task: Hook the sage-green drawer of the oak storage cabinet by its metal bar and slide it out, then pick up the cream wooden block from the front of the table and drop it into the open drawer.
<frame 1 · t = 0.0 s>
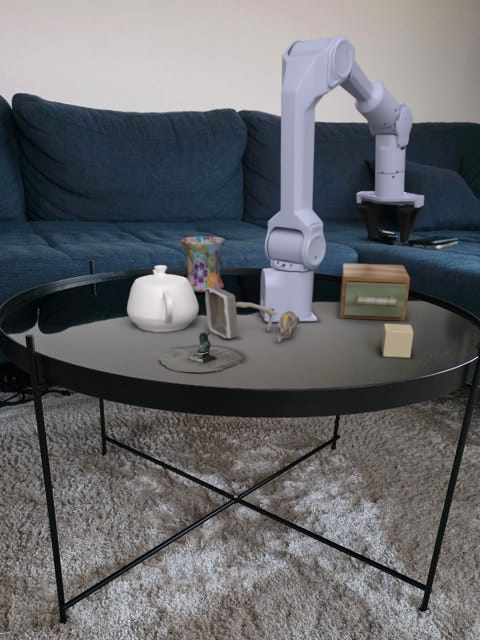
hand: (388, 239, 125), 11 cm above the table, tool pointing down, fingers open, 7 cm apart
cabinet: (370, 310, 114), on the table
drawer: (373, 295, 108), point 4 cm above the table, slide at 0.0 cm
decorative sculpture: (256, 336, 99), on the table
block: (395, 353, 91), on the table
sculpture: (200, 360, 88), on the table
supplement bottle: (283, 292, 128), on the table
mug: (203, 289, 129), on the table
teapot: (163, 324, 105), on the table
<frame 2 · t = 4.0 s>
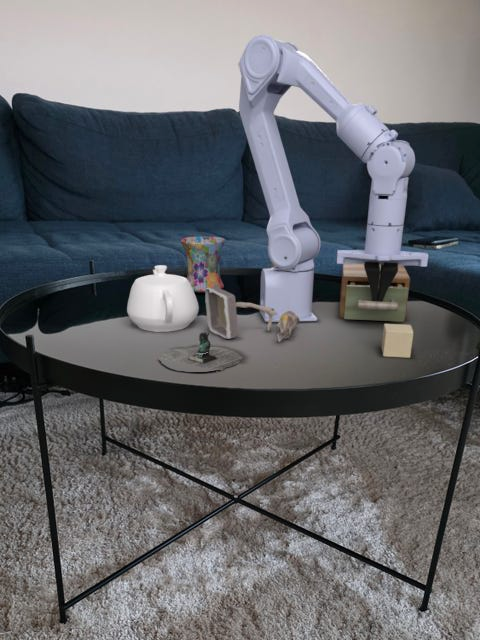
hand: (376, 307, 101), 4 cm above the table, tool pointing down, fingers closed, pressing on drawer
drawer: (374, 299, 106), point 4 cm above the table, slide at 2.8 cm, touching gripper
everything else where it was.
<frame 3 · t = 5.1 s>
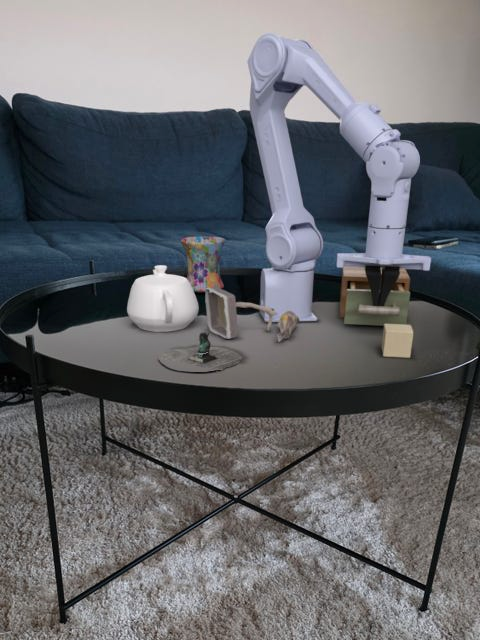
hand: (377, 312, 98), 4 cm above the table, tool pointing down, fingers closed, pressing on drawer
drawer: (375, 303, 103), point 4 cm above the table, slide at 6.0 cm, touching gripper
everything else where it was.
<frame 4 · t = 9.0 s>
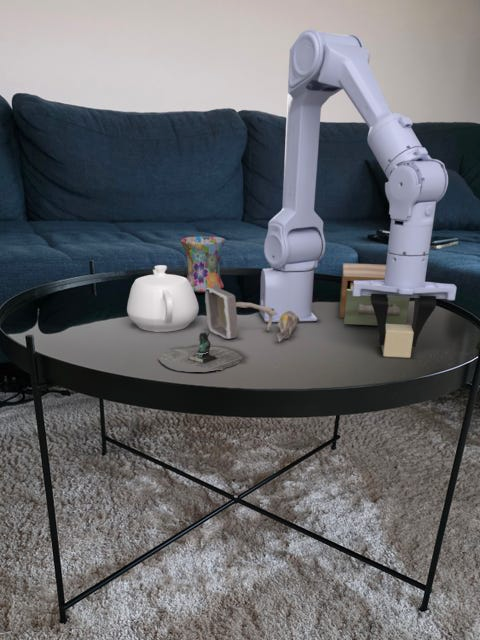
hand: (396, 344, 90), 1 cm above the table, tool pointing down, fingers closed on block, 4 cm apart
drawer: (375, 303, 103), point 4 cm above the table, slide at 6.0 cm
block: (395, 353, 91), on the table, touching gripper
everything else where it was.
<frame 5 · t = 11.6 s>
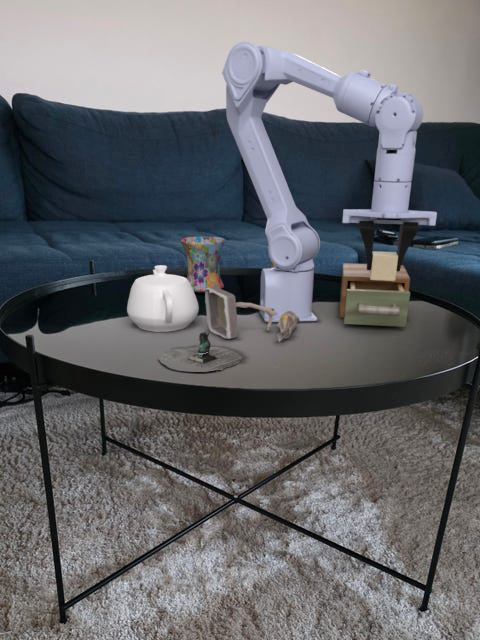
hand: (382, 269, 98), 10 cm above the table, tool pointing down, fingers closed on block, 4 cm apart
block: (382, 278, 99), point 9 cm above the table, touching gripper
everything else where it was.
when the fingers open (5 cm above the table, at t = 14.3 s): block stays where it is, resting on drawer.
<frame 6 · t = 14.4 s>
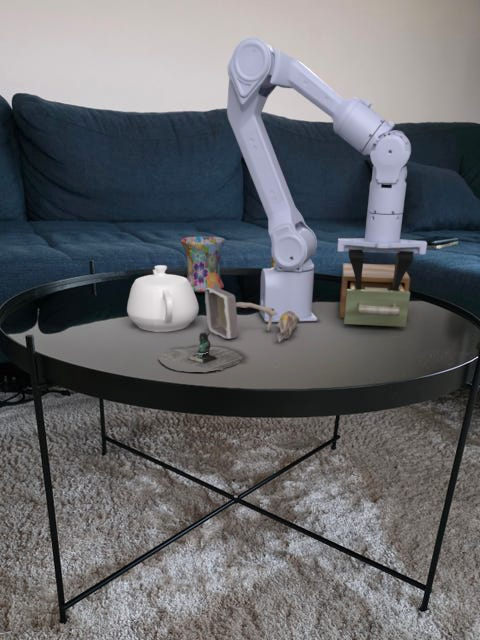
hand: (376, 295, 103), 5 cm above the table, tool pointing down, fingers open, 5 cm apart
drawer: (375, 303, 103), point 4 cm above the table, slide at 6.0 cm, touching block, gripper
block: (374, 312, 105), point 2 cm above the table, touching drawer
everything else where it was.
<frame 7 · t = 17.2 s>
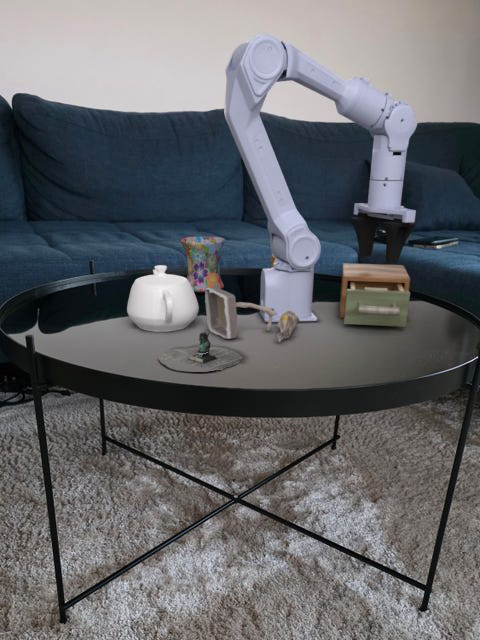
hand: (378, 259, 109), 10 cm above the table, tool pointing down, fingers open, 7 cm apart
drawer: (375, 303, 103), point 4 cm above the table, slide at 6.0 cm, touching block
everything else where it was.
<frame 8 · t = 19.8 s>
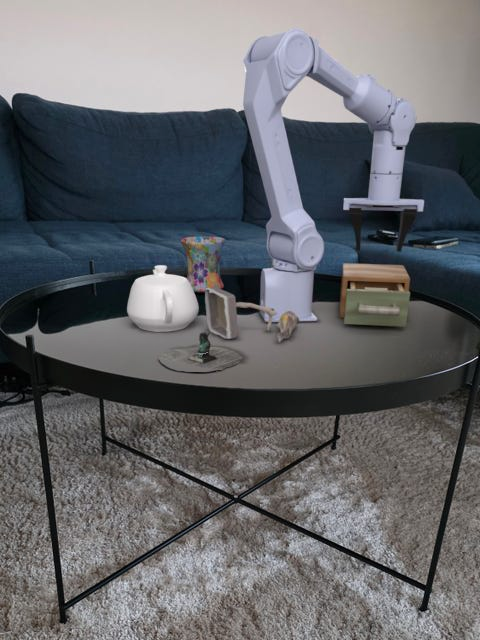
hand: (378, 250, 114), 10 cm above the table, tool pointing down, fingers open, 7 cm apart
nothing on the table moved.
at the end: drawer slide at 6.0 cm; block inside the target area in the drawer (0.5 cm from its centre), point 2.0 cm above the cabinet's base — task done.
